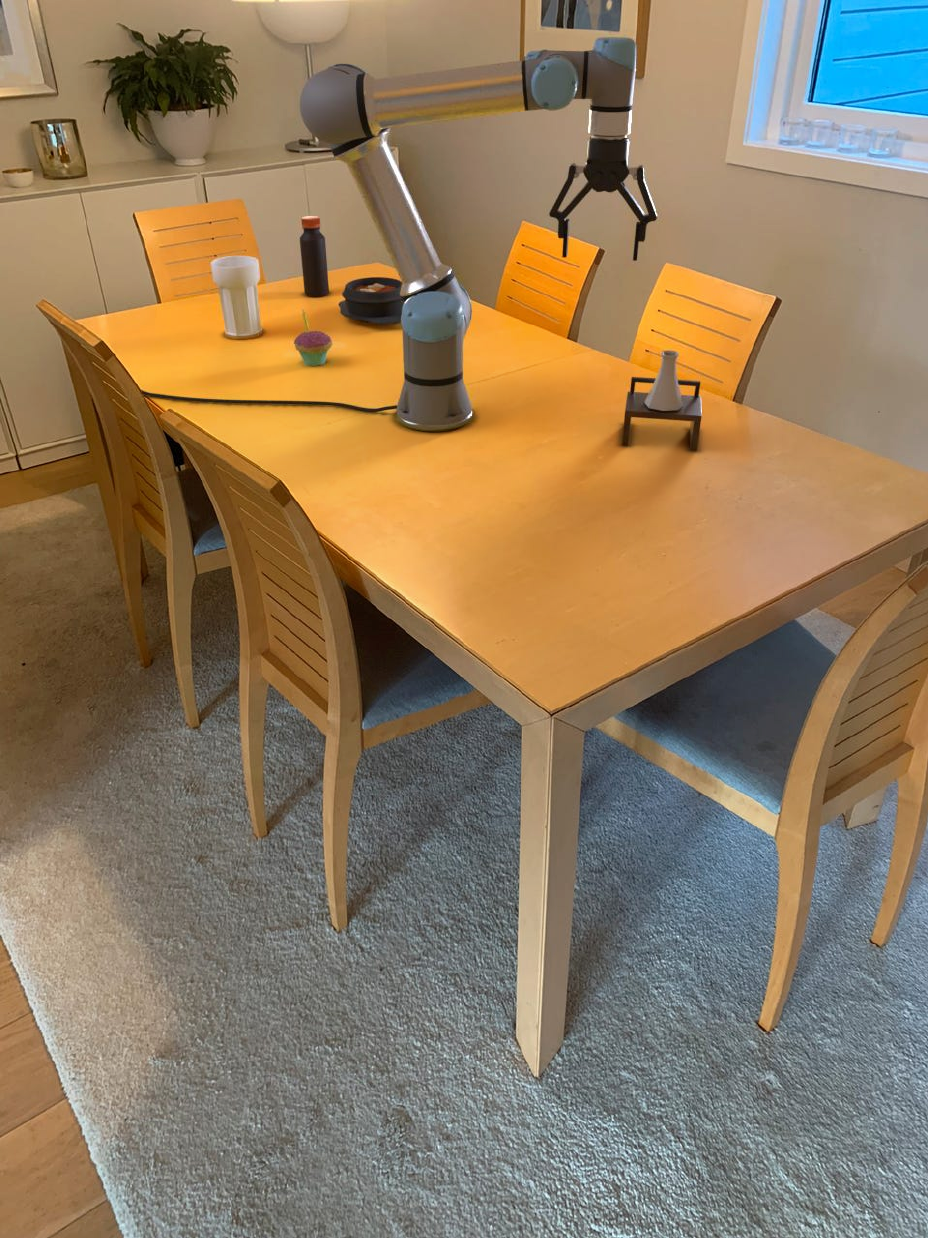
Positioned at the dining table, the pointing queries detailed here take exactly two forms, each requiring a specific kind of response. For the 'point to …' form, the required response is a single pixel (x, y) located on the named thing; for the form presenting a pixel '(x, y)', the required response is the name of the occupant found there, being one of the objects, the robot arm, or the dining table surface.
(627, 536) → the dining table surface
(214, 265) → the cup
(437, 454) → the dining table surface
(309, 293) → the bottle
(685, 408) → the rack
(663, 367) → the flask
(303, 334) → the cupcake
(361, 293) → the casserole
